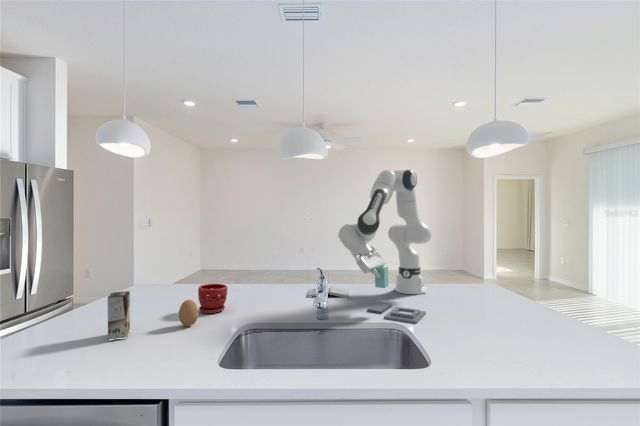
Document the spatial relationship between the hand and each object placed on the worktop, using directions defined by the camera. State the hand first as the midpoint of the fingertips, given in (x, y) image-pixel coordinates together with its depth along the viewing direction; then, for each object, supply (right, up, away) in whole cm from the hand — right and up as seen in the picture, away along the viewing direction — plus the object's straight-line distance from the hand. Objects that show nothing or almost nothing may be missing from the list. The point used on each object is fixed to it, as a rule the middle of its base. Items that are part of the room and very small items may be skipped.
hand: (383, 276), depth 158 cm
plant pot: (-79, -18, +5) cm, 82 cm away
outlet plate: (+9, -17, -5) cm, 20 cm away
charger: (-1, -5, 0) cm, 5 cm away
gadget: (-24, -18, +37) cm, 48 cm away
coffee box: (-105, -18, -28) cm, 110 cm away
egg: (-83, -18, -16) cm, 86 cm away
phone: (0, -17, +7) cm, 18 cm away
